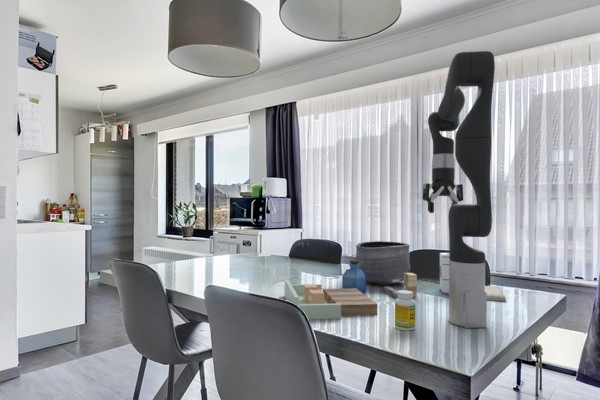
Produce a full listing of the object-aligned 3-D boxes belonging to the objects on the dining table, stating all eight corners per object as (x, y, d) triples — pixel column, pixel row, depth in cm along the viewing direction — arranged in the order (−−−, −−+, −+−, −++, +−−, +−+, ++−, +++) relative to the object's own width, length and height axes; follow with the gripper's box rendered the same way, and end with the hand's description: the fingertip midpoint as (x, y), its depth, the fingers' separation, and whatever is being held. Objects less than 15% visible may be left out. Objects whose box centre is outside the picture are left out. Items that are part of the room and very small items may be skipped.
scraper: (424, 301, 132) (424, 278, 132) (400, 302, 131) (401, 278, 131) (404, 291, 148) (405, 270, 148) (383, 291, 146) (383, 270, 146)
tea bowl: (372, 273, 180) (371, 236, 179) (418, 280, 167) (418, 240, 166) (345, 285, 160) (345, 244, 159) (396, 294, 147) (396, 249, 146)
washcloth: (497, 292, 150) (497, 284, 150) (507, 303, 133) (507, 294, 133) (464, 290, 153) (464, 282, 153) (469, 300, 136) (469, 291, 136)
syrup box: (457, 293, 144) (458, 254, 145) (441, 292, 146) (441, 254, 146) (454, 290, 150) (455, 252, 150) (438, 289, 151) (439, 252, 151)
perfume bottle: (365, 293, 143) (365, 260, 144) (355, 295, 139) (356, 262, 139) (351, 290, 148) (352, 258, 148) (342, 292, 143) (342, 260, 143)
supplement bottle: (398, 323, 107) (398, 288, 107) (417, 327, 104) (418, 291, 104) (391, 328, 102) (392, 292, 102) (411, 332, 99) (412, 294, 99)
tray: (340, 318, 111) (341, 297, 111) (295, 319, 109) (295, 298, 109) (320, 295, 139) (321, 278, 139) (284, 296, 137) (284, 279, 137)
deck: (377, 314, 115) (377, 304, 116) (338, 315, 114) (338, 305, 114) (355, 296, 137) (356, 288, 137) (322, 297, 135) (322, 288, 136)
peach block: (324, 293, 117) (311, 293, 117) (324, 309, 117) (311, 310, 117) (321, 289, 122) (308, 289, 122) (320, 305, 122) (308, 305, 122)
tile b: (317, 287, 126) (305, 287, 125) (317, 302, 126) (305, 302, 125) (315, 284, 131) (303, 284, 130) (314, 298, 131) (303, 299, 130)
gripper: (429, 165, 133) (429, 213, 132) (467, 167, 135) (467, 213, 134) (419, 167, 140) (419, 212, 140) (456, 169, 142) (455, 213, 142)
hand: (442, 213), depth 137 cm, fingers open, 8 cm apart
